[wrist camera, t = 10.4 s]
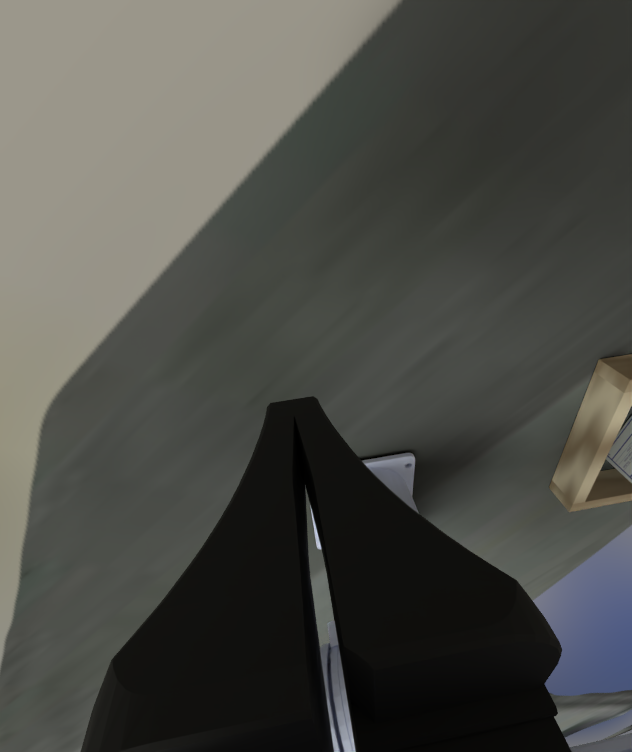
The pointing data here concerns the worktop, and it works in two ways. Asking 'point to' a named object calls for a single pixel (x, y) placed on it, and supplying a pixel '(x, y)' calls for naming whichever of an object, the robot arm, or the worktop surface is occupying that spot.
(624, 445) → the medicine box
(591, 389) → the rack
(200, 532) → the worktop surface
